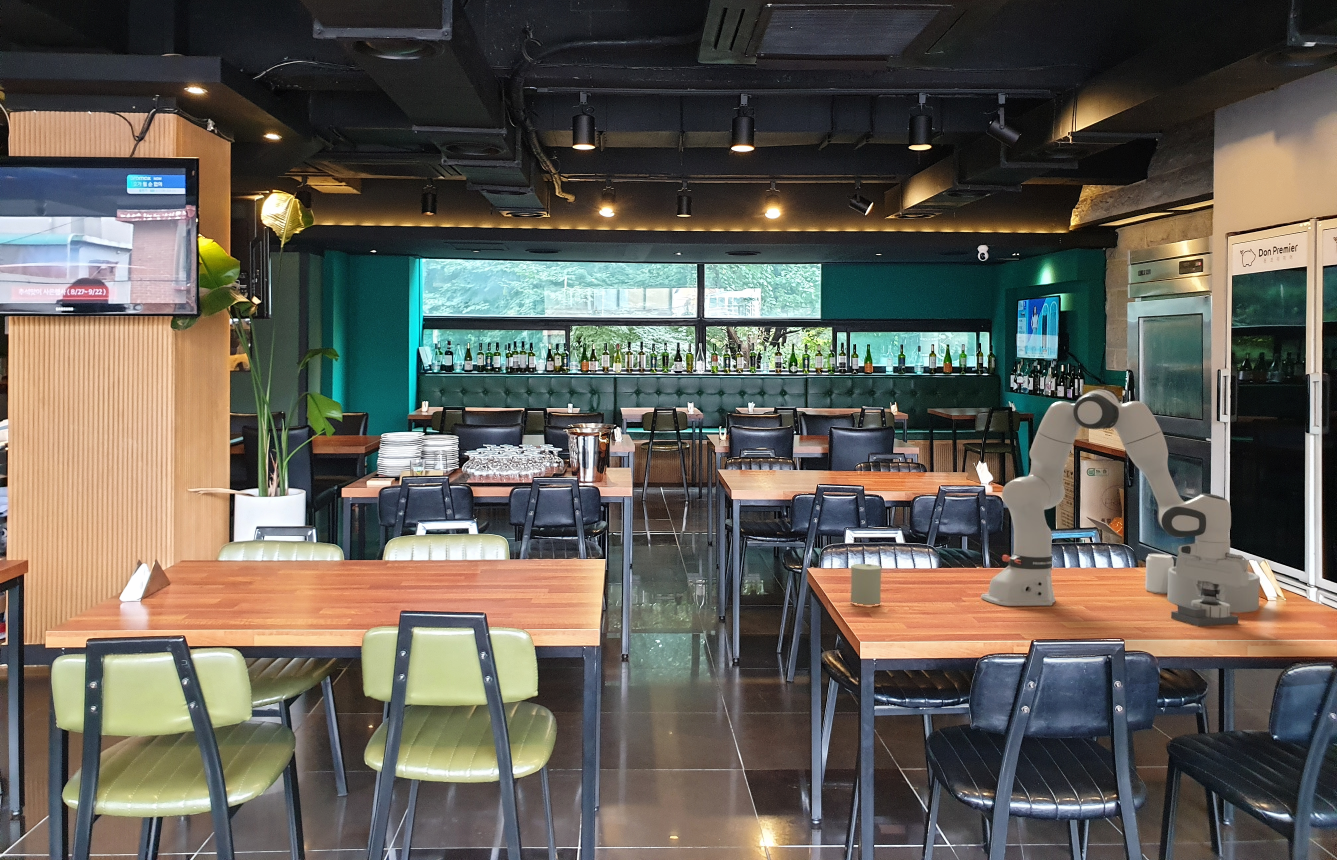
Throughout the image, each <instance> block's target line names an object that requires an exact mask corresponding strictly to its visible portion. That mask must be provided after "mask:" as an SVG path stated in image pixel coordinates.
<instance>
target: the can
mask: <svg viewBox="0 0 1337 860" xmlns="http://www.w3.org/2000/svg"><path fill="white" fill-rule="evenodd" d="M850 569H851V571H850V573H851V574H850V575H851V577H850V579H851V580H850V602H853V603H857V604H863V605H875V604H880V603H881V599H882V598H881V596H882V595H881V594H882V593H881V590H882V589H881V586H882V585H881V584H882V583H881V579H882V566H880V565H877V564H871V563H856V564H852V565H851V566H850ZM881 604H882V603H881Z"/></svg>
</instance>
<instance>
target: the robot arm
mask: <svg viewBox="0 0 1337 860" xmlns="http://www.w3.org/2000/svg"><path fill="white" fill-rule="evenodd" d="M1081 428H1085V429H1087V430H1102V429H1103V430H1105V429H1114V430H1115V432H1116V433H1117V434H1118V436H1119V439H1120V441H1121V443H1122V445H1123V448H1124V450H1125V452H1126V455H1128V457H1129V458H1130V460H1131V461H1132V463H1133V465H1135V467H1136V468H1138V470H1140V472H1142V473H1143V475H1144V476H1145V478H1146V480H1147V483H1148V484H1149V486H1150V489H1151V490H1152V491H1151V492H1152V494H1153V496H1154V498H1155V501H1156V504H1157V516H1156V517H1157V522H1158V524H1159V526H1160V527H1161V528H1162V529H1163V530H1164V531H1165V533H1166V534H1167V535H1168V536H1169V535H1170V536H1171V537H1173V538H1179V539H1184V538H1190V537H1191V538H1192V537H1194V539H1195V540H1194V542H1192V543H1189V544H1182V545H1179V546H1178V547H1177V550H1178V555H1177V556H1176V562H1175V566H1176V574H1177V576H1178V577H1182V578H1187V579H1192V580H1193V584H1194V586H1195V588H1196V590H1197V596H1201V597H1202V587H1201V584H1202V582H1203V581H1205V582H1211V583H1213V584H1218V585H1220V589H1222V590H1221V592H1220V593H1219V594H1216V599H1217V600H1220V601H1224V600H1225V594H1226V593H1227V591H1228V590H1229V587H1234V588H1246V587H1247V586H1248V584H1249V579H1248V572H1249V571H1248V568H1249V567H1248V566H1249V562H1248V559H1247V558H1245V557H1244V555H1241V554H1235V553H1231V539H1230V530H1231V526H1232V512H1231V505H1230V502H1229V501H1228V500H1227V498H1225V497H1223V496H1219V495H1216V494H1212V493H1211V494H1210V493H1200V494H1199V495H1197V496H1196V497H1193V498H1191V499H1188V500H1186V501H1185V500H1184V499H1183V498H1182V497H1181V496H1180V494H1179V492H1178V490H1177V488H1176V485H1175V484H1174V481H1173V478H1172V477H1171V474H1170V471H1169V467H1168V458H1169V450H1168V445H1167V441H1166V438H1165V435H1164V433H1163V431H1162V429H1161V427H1160V424H1159V423H1158V421H1157V419H1156V418H1155V415H1154V414H1153V413H1152V412H1151V410H1150V408H1149V407H1148V405H1146V404H1145V403H1144V402H1142V401H1138V400H1133V401H1127V402H1124V403H1121V400H1120V397H1118V395H1117V394H1116V393H1115V392H1113V391H1112V390H1110V389H1107V388H1097V389H1093V390H1090V391H1088V392H1086V393H1084V394H1083V395H1081V396H1080V397H1079V398H1078V399H1077V400H1076V401H1075V403H1071V402H1070V401H1060V400H1059V401H1056V402H1054V403H1052V404H1051V405H1050V406H1049V407H1048V409H1047V410H1046V412H1045V414H1044V416H1043V417H1042V419H1041V422H1040V424H1039V426H1038V429H1037V431H1036V435H1035V436H1034V439H1033V442H1032V444H1031V448H1030V450H1029V458H1030V459H1031V461H1030V464H1031V465H1030V472H1029V474H1028V475H1027V476H1019V477H1016V478H1014V479H1012V480H1010V481H1008V482H1007V483H1006V484H1005V485H1004V487H1003V488H1002V490H1001V491H1002V492H1001V497H1002V502H1003V503H1004V506H1005V507H1006V508H1008V511H1009V514H1010V517H1011V521H1012V526H1013V552H1012V554H1011V556H1010V555H1007V554H1003V555H1002V558H1001V559H1002V561H1003V562H1006V563H1008V565H1007V566H1006V567H1005V568H1003V570H1001V571H1000V572H999V573H997V574H996V575H995V576H993V577H992V578H991V580H990V583H989V586H988V587H989V588H988V592H986V593H982V594H981V596H980V597H981V599H982V600H984V601H987V602H989V603H992V604H995V605H1001V606H1005V607H1006V606H1007V607H1018V606H1019V607H1023V606H1024V607H1025V606H1026V607H1027V606H1029V607H1030V606H1031V607H1032V606H1053V605H1054V603H1056V598H1055V592H1054V589H1053V580H1052V579H1053V578H1052V570H1053V556H1052V530H1051V528H1050V527H1049V526H1048V524H1047V520H1046V516H1045V510H1049V509H1052V508H1054V507H1056V506H1058V505H1060V503H1061V502H1063V500H1064V498H1065V494H1066V489H1065V485H1064V475H1065V469H1066V465H1067V462H1068V459H1069V456H1070V454H1071V451H1072V449H1073V447H1074V446H1073V445H1074V443H1075V440H1076V438H1077V435H1078V433H1079V431H1080V430H1081Z"/></svg>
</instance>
